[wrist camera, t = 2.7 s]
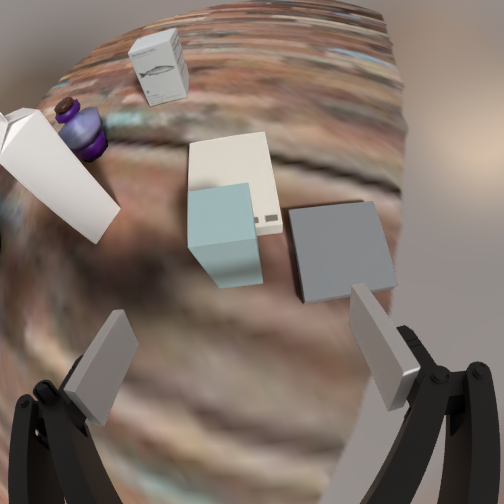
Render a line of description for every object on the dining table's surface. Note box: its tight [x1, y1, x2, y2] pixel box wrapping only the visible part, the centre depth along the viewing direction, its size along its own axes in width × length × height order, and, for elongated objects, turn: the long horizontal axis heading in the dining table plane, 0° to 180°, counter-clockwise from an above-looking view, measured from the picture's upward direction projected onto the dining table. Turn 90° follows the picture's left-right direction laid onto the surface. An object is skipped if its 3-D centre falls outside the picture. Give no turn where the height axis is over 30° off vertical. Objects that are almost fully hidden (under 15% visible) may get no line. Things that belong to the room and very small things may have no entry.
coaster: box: [288, 201, 398, 304], centre depth 27 cm, size 10×10×2 cm
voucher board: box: [188, 132, 283, 236], centre depth 31 cm, size 14×10×2 cm
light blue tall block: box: [188, 183, 263, 289], centre depth 24 cm, size 5×4×11 cm
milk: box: [0, 108, 121, 244], centre depth 23 cm, size 6×6×22 cm
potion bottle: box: [54, 97, 108, 162], centre depth 33 cm, size 9×9×12 cm
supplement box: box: [128, 28, 190, 106], centre depth 36 cm, size 7×7×13 cm
